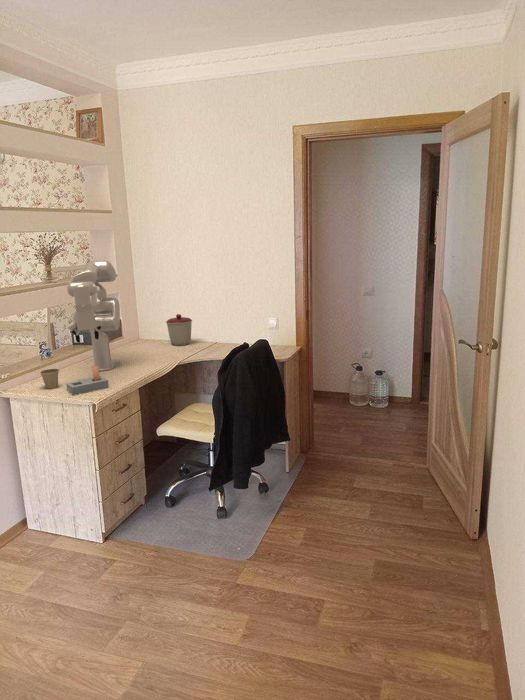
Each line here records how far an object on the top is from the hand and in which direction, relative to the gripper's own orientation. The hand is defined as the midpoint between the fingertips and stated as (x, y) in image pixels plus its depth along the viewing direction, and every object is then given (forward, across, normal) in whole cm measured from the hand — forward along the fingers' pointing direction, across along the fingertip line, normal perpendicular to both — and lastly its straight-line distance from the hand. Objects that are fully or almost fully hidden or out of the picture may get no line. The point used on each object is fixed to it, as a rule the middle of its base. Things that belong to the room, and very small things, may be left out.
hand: (87, 340), depth 276 cm
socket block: (+23, +6, +9) cm, 25 cm away
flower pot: (+24, +19, -10) cm, 32 cm away
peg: (+23, +1, +9) cm, 25 cm away
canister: (+26, -80, -48) cm, 97 cm away
